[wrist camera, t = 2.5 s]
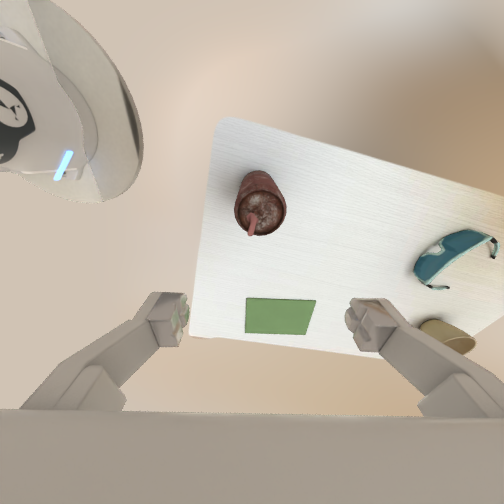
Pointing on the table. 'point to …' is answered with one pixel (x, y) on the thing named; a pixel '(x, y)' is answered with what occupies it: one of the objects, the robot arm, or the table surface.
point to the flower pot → (449, 336)
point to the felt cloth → (278, 316)
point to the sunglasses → (450, 254)
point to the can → (259, 204)
